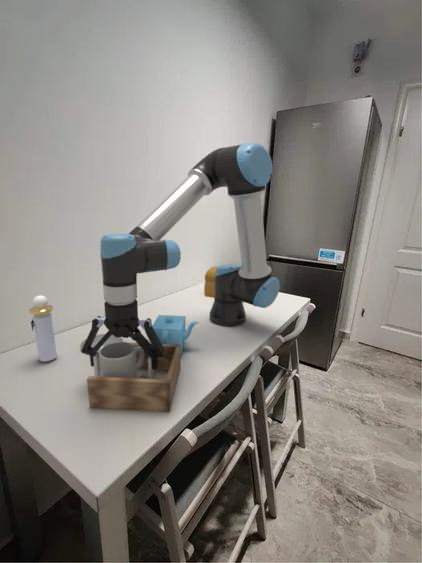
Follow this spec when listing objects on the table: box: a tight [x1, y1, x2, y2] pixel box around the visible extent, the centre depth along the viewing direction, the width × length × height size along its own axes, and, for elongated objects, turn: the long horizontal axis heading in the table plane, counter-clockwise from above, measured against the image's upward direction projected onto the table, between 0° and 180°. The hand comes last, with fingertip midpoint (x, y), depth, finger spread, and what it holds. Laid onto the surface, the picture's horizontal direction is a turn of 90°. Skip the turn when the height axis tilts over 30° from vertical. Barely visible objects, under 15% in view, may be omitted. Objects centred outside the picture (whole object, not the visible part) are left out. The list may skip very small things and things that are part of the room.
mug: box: [99, 341, 144, 378], centre depth 71 cm, size 12×8×11 cm
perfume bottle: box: [28, 294, 58, 362], centre depth 80 cm, size 6×6×20 cm
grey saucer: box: [79, 333, 124, 356], centre depth 91 cm, size 13×13×1 cm
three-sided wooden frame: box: [86, 342, 181, 413], centre depth 71 cm, size 18×17×8 cm
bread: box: [203, 266, 218, 299], centre depth 143 cm, size 24×13×15 cm, turn 70°
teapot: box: [152, 314, 200, 356], centre depth 89 cm, size 16×18×11 cm
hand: (125, 378), depth 71 cm, fingers open, 13 cm apart
